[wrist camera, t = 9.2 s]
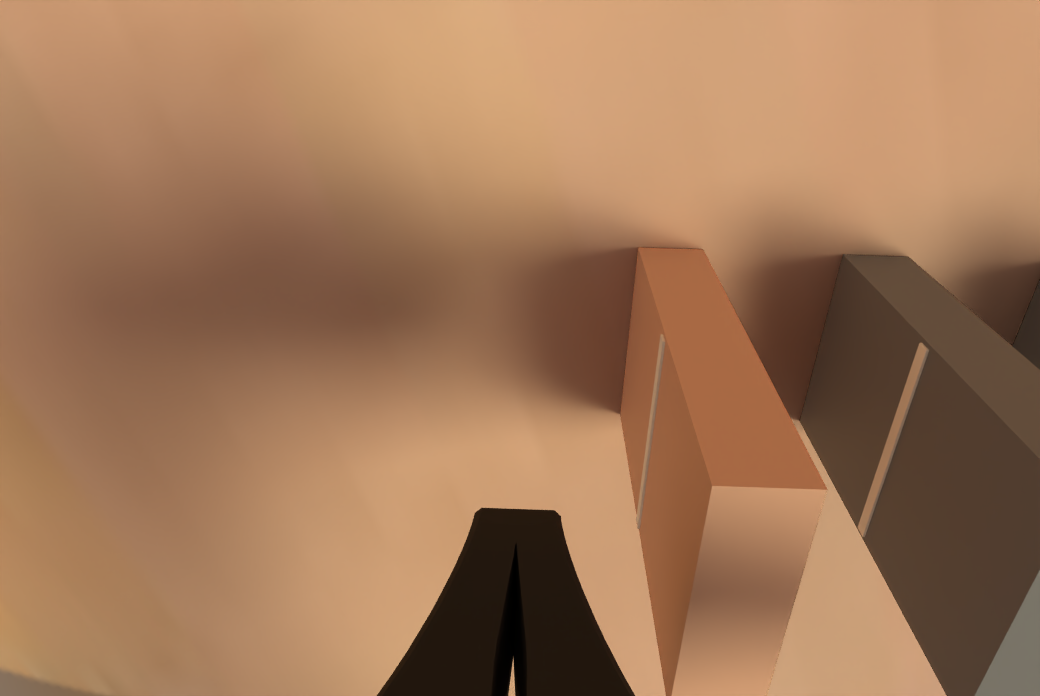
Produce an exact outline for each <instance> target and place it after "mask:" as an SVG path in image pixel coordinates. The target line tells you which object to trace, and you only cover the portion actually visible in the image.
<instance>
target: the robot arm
mask: <svg viewBox="0 0 1040 696" xmlns="http://www.w3.org/2000/svg"><path fill="white" fill-rule="evenodd" d="M513 657H514V676H515V695H516V696H635V695H634V693H633V691H632V690H631V688H630V686H629V684H628V682H627V681H626V679H625V677H624V675H623V673H622V672H621V670H620V668H619V666H618V664H617V662H616V660H615V658H614V656H613V654H612V652H611V650H610V648H609V647H608V645H607V643H606V641H605V639H604V637H603V634H602V632H601V630H600V628H599V626H598V624H597V622H596V620H595V617H594V615H593V613H592V610H591V608H590V606H589V603H588V601H587V599H586V596H585V594H584V592H583V589H582V587H581V584H580V582H579V579H578V577H577V574H576V571H575V568H574V565H573V563H572V560H571V557H570V554H569V550H568V547H567V544H566V540H565V536H564V532H563V528H562V523H561V516H560V515H559V514H558V513H557V512H556V511H554V510H527V509H498V508H481V509H480V510H478V511H477V512H476V513H475V515H474V519H473V522H472V526H471V528H470V531H469V534H468V537H467V539H466V542H465V544H464V547H463V549H462V552H461V554H460V556H459V558H458V560H457V563H456V565H455V567H454V569H453V571H452V573H451V575H450V577H449V579H448V581H447V583H446V585H445V587H444V589H443V591H442V593H441V594H440V596H439V598H438V600H437V602H436V604H435V606H434V608H433V609H432V611H431V613H430V615H429V616H428V618H427V620H426V621H425V623H424V625H423V626H422V628H421V630H420V631H419V633H418V635H417V636H416V638H415V639H414V641H413V643H412V644H411V646H410V648H409V649H408V651H407V653H406V654H405V656H404V657H403V659H402V660H401V662H400V663H399V665H398V666H397V668H396V669H395V671H394V672H393V674H392V675H391V676H390V678H389V679H388V681H387V682H386V684H385V685H384V686H383V688H382V689H381V690H380V692H379V693H378V695H377V696H508V692H509V685H510V677H511V670H512V662H513Z"/></svg>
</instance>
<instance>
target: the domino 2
mask: <svg viewBox="0 0 1040 696" xmlns="http://www.w3.org/2000/svg"><path fill="white" fill-rule="evenodd" d="M1013 347H1014V348H1015V349H1016V350H1017V351H1018V352H1020V353H1021V354H1022V355H1023V356H1024V357H1025V358H1027V359H1028V360H1029V361H1030V362H1031V363H1032V364H1034V365H1035V366H1036V367H1037V368H1038V369H1039V370H1040V280H1039V283H1038V285H1037V288H1036V290H1035V292H1034V295H1033V297H1032V300H1031V302H1030V305H1029V307H1028V310H1027V312H1026V314H1025V317H1024V319H1023V322H1022V324H1021V327H1020V329H1019V332H1018V334H1017V336H1016V339H1015V341H1014V344H1013Z"/></svg>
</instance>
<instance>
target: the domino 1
mask: <svg viewBox="0 0 1040 696" xmlns="http://www.w3.org/2000/svg"><path fill="white" fill-rule="evenodd" d="M800 423H801V424H802V426H803V428H804V430H805V432H806V434H807V436H808V438H809V439H810V441H811V443H812V445H813V447H814V449H815V451H816V452H817V454H818V456H819V458H820V460H821V462H822V464H823V466H824V467H825V469H826V471H827V473H828V475H829V477H830V479H831V480H832V482H833V484H834V486H835V488H836V490H837V492H838V494H839V495H840V497H841V499H842V501H843V503H844V505H845V507H846V508H847V510H848V512H849V514H850V516H851V518H852V520H853V521H854V523H855V525H856V527H857V529H858V531H859V533H860V535H861V536H862V538H863V540H864V542H865V544H866V546H867V548H868V549H869V551H870V553H871V555H872V557H873V559H874V561H875V563H876V564H877V566H878V568H879V570H880V572H881V574H882V576H883V577H884V579H885V581H886V583H887V585H888V587H889V589H890V591H891V592H892V594H893V596H894V598H895V600H896V602H897V604H898V605H899V607H900V609H901V611H902V613H903V615H904V617H905V619H906V620H907V622H908V624H909V626H910V628H911V630H912V632H913V633H914V635H915V637H916V639H917V641H918V643H919V645H920V647H921V648H922V650H923V652H924V654H925V656H926V658H927V660H928V661H929V663H930V665H931V667H932V669H933V671H934V673H935V675H936V676H937V678H938V680H939V682H940V684H941V686H942V688H943V689H944V691H945V693H946V695H947V696H1040V370H1039V369H1038V368H1037V367H1036V366H1035V365H1034V364H1032V363H1031V362H1030V361H1029V360H1028V359H1027V358H1025V357H1024V356H1023V355H1022V354H1021V353H1020V352H1018V351H1017V350H1016V349H1015V348H1014V347H1013V346H1011V345H1010V344H1009V343H1008V342H1007V341H1006V340H1004V339H1003V338H1002V337H1001V336H1000V335H999V334H998V333H996V332H995V331H994V330H993V329H992V328H991V327H989V326H988V325H987V324H986V323H985V322H984V321H982V320H981V319H980V318H979V317H978V316H977V315H975V314H974V313H973V312H972V311H971V310H970V309H968V308H967V307H966V306H965V305H964V304H963V303H961V302H960V301H959V300H958V299H957V298H956V297H955V296H953V295H952V294H951V293H950V292H949V291H948V290H946V289H945V288H944V287H943V286H942V285H941V284H939V283H938V282H937V281H936V280H935V279H934V278H932V277H931V276H930V275H929V274H928V273H927V272H925V271H924V270H923V269H922V268H921V267H920V266H918V265H917V264H916V263H915V262H914V261H913V260H912V259H910V258H909V257H904V256H874V255H845V254H843V256H842V260H841V264H840V268H839V272H838V276H837V279H836V283H835V287H834V291H833V295H832V299H831V303H830V306H829V310H828V314H827V318H826V322H825V326H824V330H823V333H822V337H821V341H820V345H819V349H818V353H817V357H816V361H815V364H814V368H813V372H812V376H811V380H810V384H809V388H808V391H807V395H806V399H805V403H804V407H803V411H802V415H801V418H800Z"/></svg>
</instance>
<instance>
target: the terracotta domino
mask: <svg viewBox="0 0 1040 696" xmlns="http://www.w3.org/2000/svg"><path fill="white" fill-rule="evenodd" d="M620 416H621V422H622V428H623V434H624V441H625V447H626V453H627V459H628V465H629V471H630V477H631V483H632V490H633V496H634V502H635V508H636V514H637V517H636V521H637V528H638V529H639V532H640V539H641V545H642V551H643V557H644V563H645V569H646V575H647V581H648V588H649V594H650V600H651V606H652V612H653V618H654V624H655V630H656V637H657V643H658V649H659V655H660V661H661V667H662V673H663V679H664V686H665V692H666V696H767V693H768V690H769V686H770V683H771V680H772V676H773V673H774V669H775V666H776V663H777V659H778V656H779V652H780V649H781V646H782V642H783V639H784V636H785V632H786V629H787V625H788V622H789V619H790V615H791V612H792V608H793V605H794V602H795V598H796V595H797V592H798V588H799V585H800V581H801V578H802V575H803V571H804V568H805V564H806V561H807V558H808V554H809V551H810V548H811V544H812V541H813V537H814V534H815V531H816V527H817V524H818V520H819V517H820V514H821V510H822V507H823V504H824V500H825V497H826V493H827V488H826V486H825V484H824V482H823V480H822V478H821V476H820V474H819V472H818V470H817V468H816V467H815V465H814V463H813V461H812V459H811V457H810V455H809V453H808V451H807V449H806V447H805V445H804V443H803V441H802V440H801V438H800V436H799V434H798V432H797V430H796V428H795V426H794V424H793V422H792V420H791V418H790V416H789V414H788V412H787V411H786V409H785V407H784V405H783V403H782V401H781V399H780V397H779V395H778V393H777V391H776V389H775V387H774V385H773V384H772V382H771V380H770V378H769V376H768V374H767V372H766V370H765V368H764V366H763V364H762V362H761V360H760V358H759V356H758V355H757V353H756V351H755V349H754V347H753V345H752V343H751V341H750V339H749V337H748V335H747V333H746V331H745V329H744V328H743V326H742V324H741V322H740V320H739V318H738V316H737V314H736V312H735V310H734V308H733V306H732V304H731V302H730V300H729V299H728V297H727V295H726V293H725V291H724V289H723V287H722V285H721V283H720V281H719V279H718V277H717V275H716V273H715V272H714V270H713V268H712V266H711V264H710V262H709V260H708V258H707V256H706V254H705V252H704V250H703V249H673V248H640V247H638V254H637V263H636V273H635V282H634V291H633V300H632V310H631V319H630V328H629V338H628V347H627V356H626V366H625V375H624V384H623V393H622V403H621V412H620Z"/></svg>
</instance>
